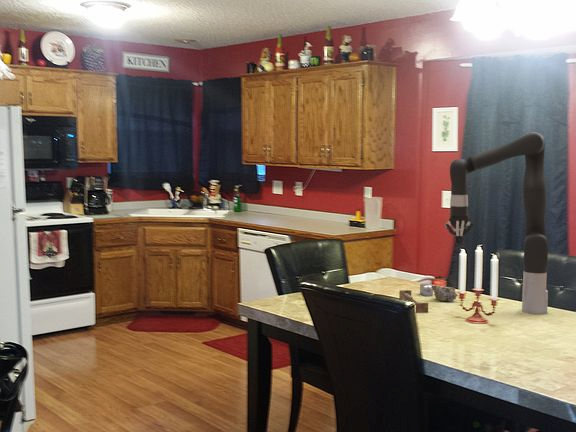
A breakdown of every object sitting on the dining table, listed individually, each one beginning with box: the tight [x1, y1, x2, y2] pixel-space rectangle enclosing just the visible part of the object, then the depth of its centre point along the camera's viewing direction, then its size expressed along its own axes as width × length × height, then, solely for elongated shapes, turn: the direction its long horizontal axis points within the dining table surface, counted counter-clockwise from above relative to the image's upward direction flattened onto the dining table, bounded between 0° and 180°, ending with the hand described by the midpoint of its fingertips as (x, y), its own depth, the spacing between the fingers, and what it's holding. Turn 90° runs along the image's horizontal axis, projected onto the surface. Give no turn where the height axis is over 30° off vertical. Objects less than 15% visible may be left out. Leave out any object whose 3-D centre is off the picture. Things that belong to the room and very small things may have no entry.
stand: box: [398, 289, 429, 314], centre depth 291 cm, size 5×27×5 cm, turn 5°
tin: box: [419, 283, 434, 298], centre depth 313 cm, size 6×6×5 cm
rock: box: [431, 284, 459, 302], centre depth 300 cm, size 11×6×10 cm
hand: (458, 244), depth 295 cm, fingers closed
